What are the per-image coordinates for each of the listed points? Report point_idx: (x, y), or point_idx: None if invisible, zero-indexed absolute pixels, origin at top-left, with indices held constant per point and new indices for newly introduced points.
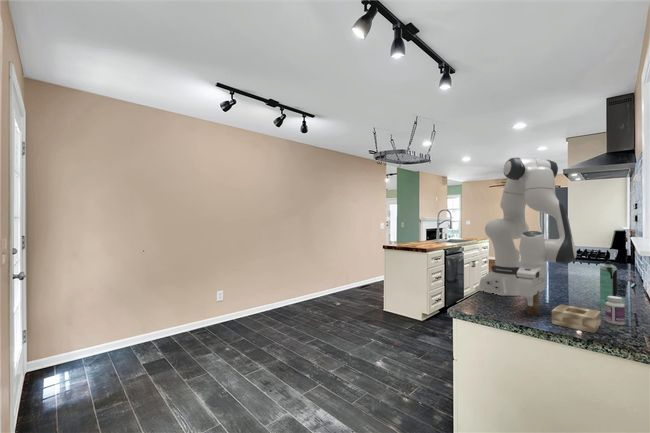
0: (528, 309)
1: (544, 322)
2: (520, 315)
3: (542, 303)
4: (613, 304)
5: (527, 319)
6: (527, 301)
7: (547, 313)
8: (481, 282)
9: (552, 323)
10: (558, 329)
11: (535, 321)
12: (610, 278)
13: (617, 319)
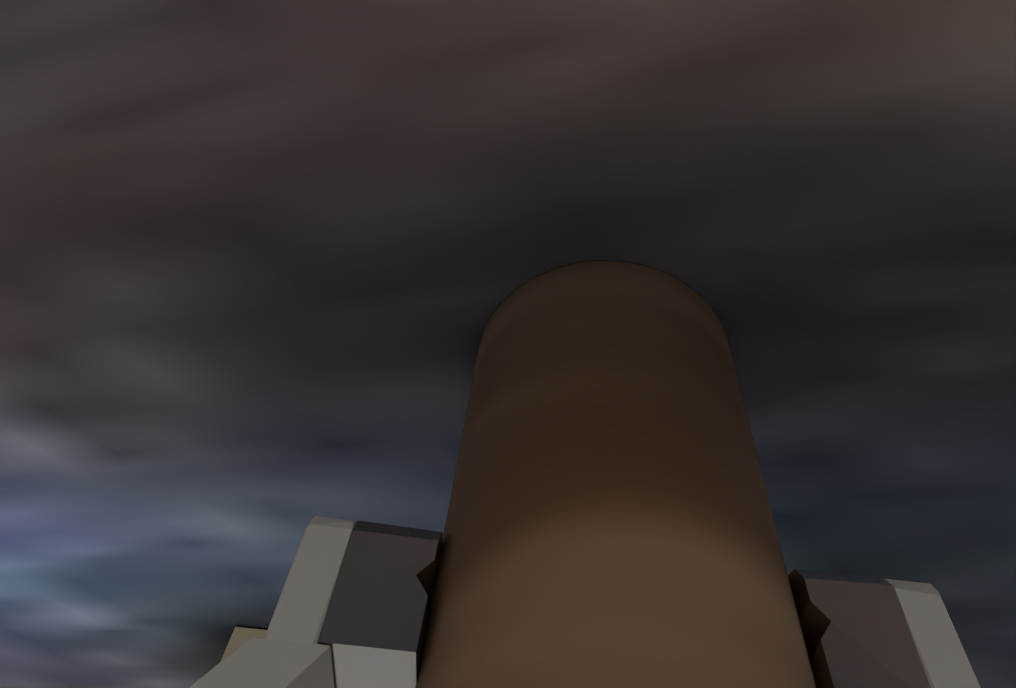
0: (486, 386)
1: (198, 557)
2: (254, 168)
3: None
4: None
5: (86, 342)
6: (510, 552)
7: (892, 551)
8: None
9: (232, 636)
10: (49, 680)
11: (109, 459)
12: None
13: None
